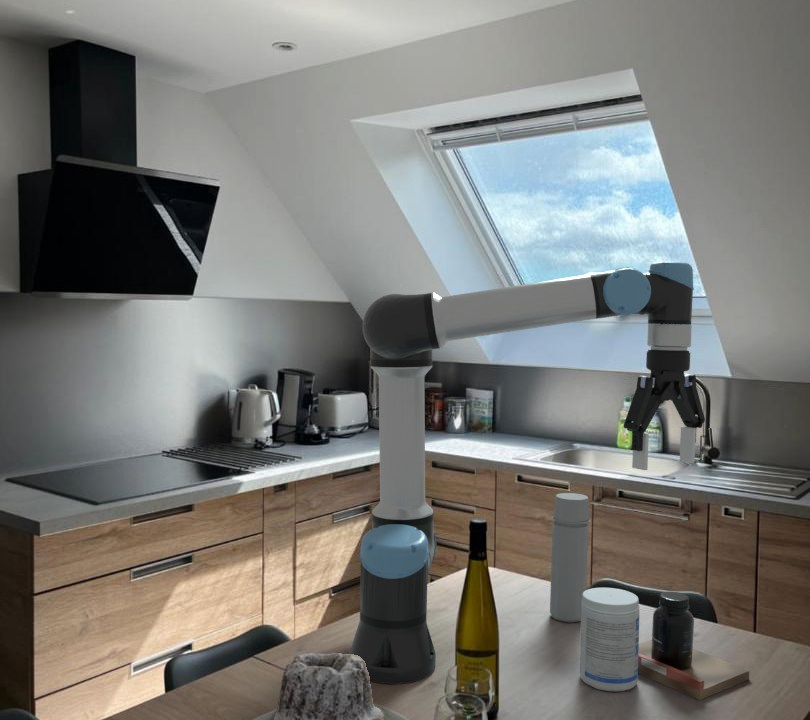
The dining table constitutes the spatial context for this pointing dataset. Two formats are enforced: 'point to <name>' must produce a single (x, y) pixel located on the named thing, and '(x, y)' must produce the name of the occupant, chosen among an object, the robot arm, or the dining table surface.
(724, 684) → the beige hardcover book
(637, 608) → the supplement tub
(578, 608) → the water bottle
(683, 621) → the supplement bottle
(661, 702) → the dining table surface
